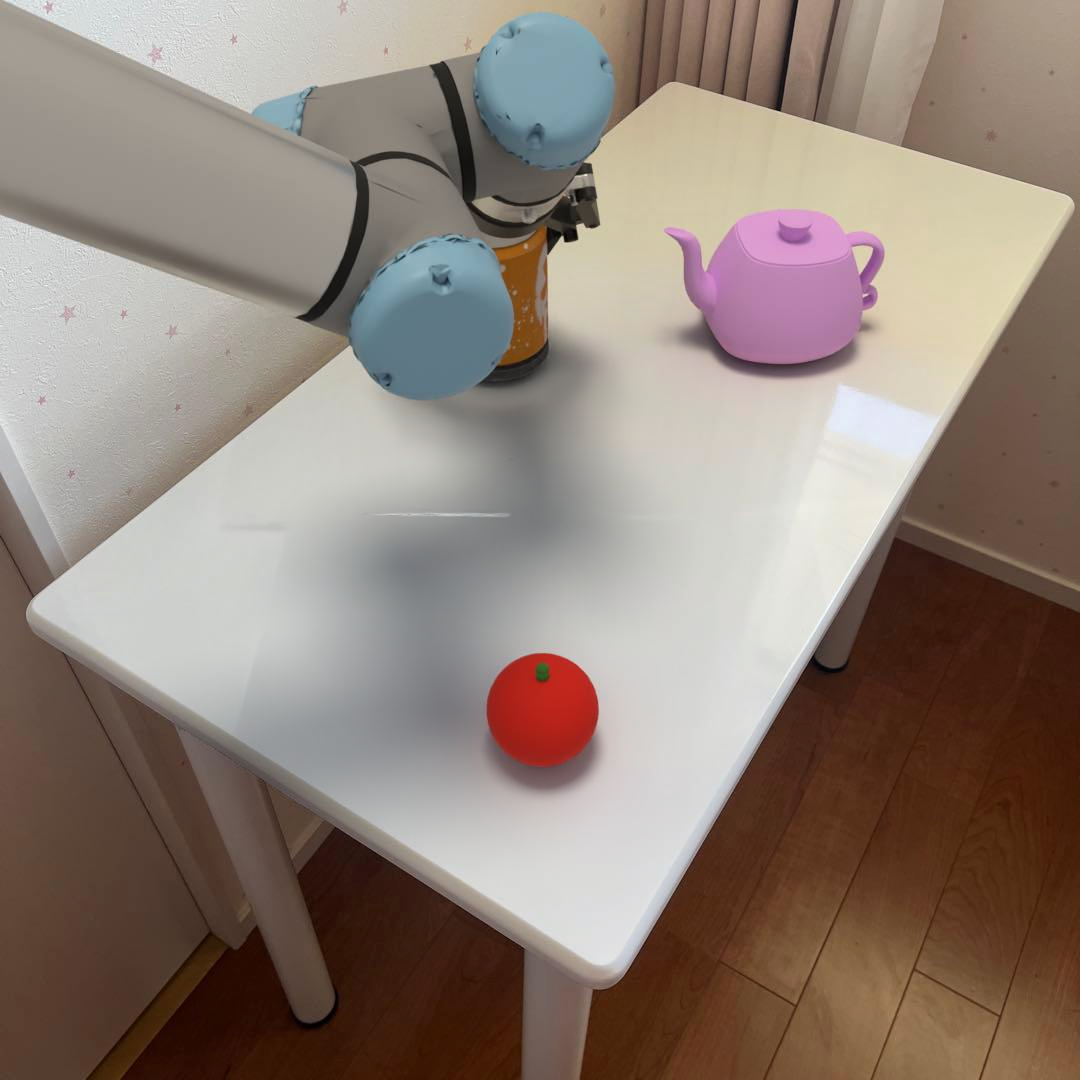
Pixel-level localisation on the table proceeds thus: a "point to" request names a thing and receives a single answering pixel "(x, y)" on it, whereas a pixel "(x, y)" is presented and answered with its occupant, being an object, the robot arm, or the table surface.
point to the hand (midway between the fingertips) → (477, 248)
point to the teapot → (782, 285)
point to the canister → (524, 301)
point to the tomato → (542, 709)
